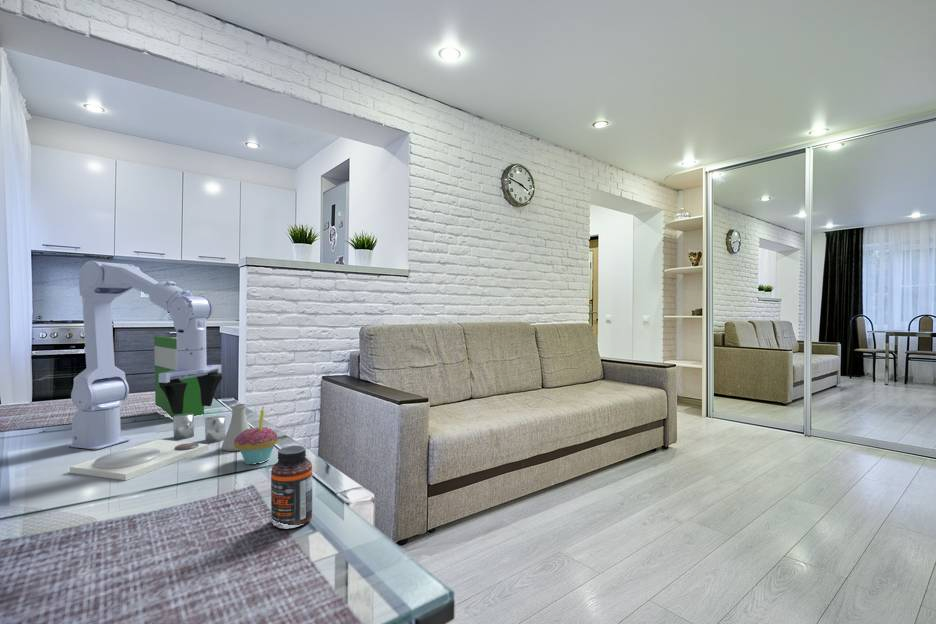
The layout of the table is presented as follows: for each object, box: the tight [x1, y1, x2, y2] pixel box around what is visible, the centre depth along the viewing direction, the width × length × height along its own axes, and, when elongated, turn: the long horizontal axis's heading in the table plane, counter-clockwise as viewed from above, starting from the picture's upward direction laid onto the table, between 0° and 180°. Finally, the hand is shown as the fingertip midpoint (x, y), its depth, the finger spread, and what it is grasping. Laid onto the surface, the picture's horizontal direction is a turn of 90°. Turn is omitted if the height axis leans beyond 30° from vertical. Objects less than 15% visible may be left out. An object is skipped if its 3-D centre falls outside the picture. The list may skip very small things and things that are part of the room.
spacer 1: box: [172, 413, 195, 441], centre depth 114 cm, size 4×4×6 cm
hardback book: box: [153, 335, 205, 417], centre depth 138 cm, size 18×7×24 cm, turn 51°
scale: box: [69, 438, 209, 481], centre depth 97 cm, size 15×19×2 cm
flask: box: [220, 403, 251, 452], centre depth 106 cm, size 7×7×10 cm
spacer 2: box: [204, 415, 227, 444], centre depth 112 cm, size 4×4×6 cm
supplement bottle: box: [270, 445, 313, 525], centre depth 69 cm, size 6×6×11 cm
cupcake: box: [234, 406, 279, 465], centre depth 96 cm, size 9×8×12 cm
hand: (192, 409), depth 101 cm, fingers open, 7 cm apart
